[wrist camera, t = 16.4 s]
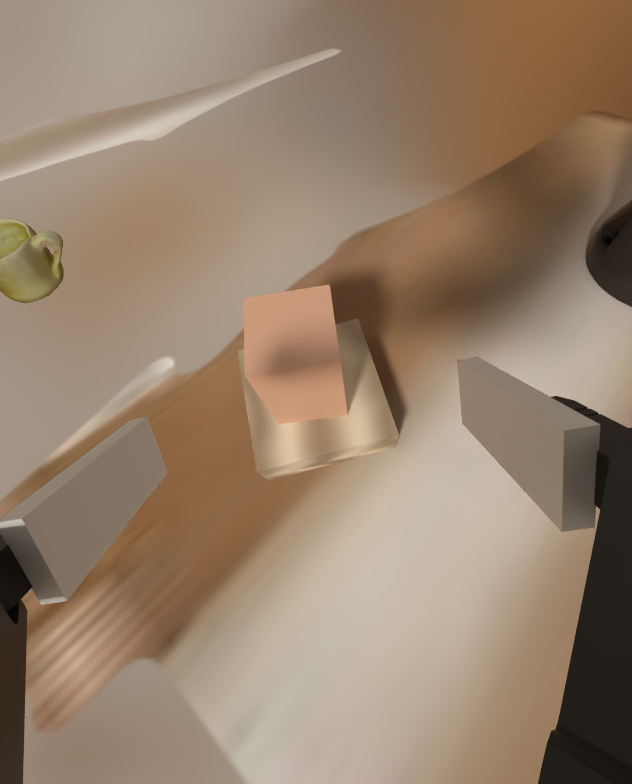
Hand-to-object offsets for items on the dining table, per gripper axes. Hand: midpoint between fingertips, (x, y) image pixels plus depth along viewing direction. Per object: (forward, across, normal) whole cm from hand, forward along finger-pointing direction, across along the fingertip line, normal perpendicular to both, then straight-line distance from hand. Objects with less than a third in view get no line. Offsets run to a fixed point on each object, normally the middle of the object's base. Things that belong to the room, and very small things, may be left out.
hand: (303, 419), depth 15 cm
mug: (+43, -40, +13) cm, 60 cm away
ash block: (+25, -2, -9) cm, 26 cm away
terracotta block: (+21, -2, -5) cm, 22 cm away
